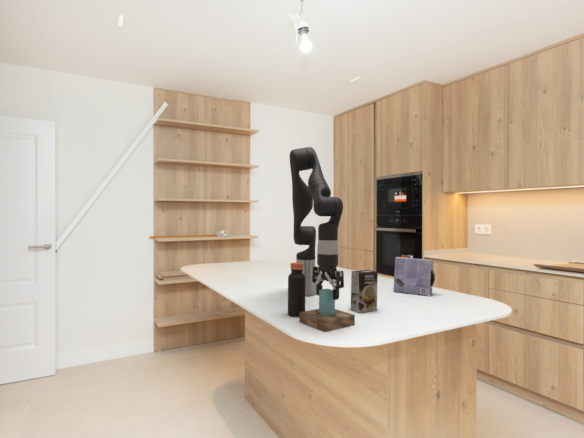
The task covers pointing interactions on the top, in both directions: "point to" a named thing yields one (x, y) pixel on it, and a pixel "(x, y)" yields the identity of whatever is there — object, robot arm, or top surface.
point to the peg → (326, 302)
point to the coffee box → (364, 290)
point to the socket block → (326, 320)
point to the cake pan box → (413, 276)
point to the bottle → (296, 290)
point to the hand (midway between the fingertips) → (327, 297)
